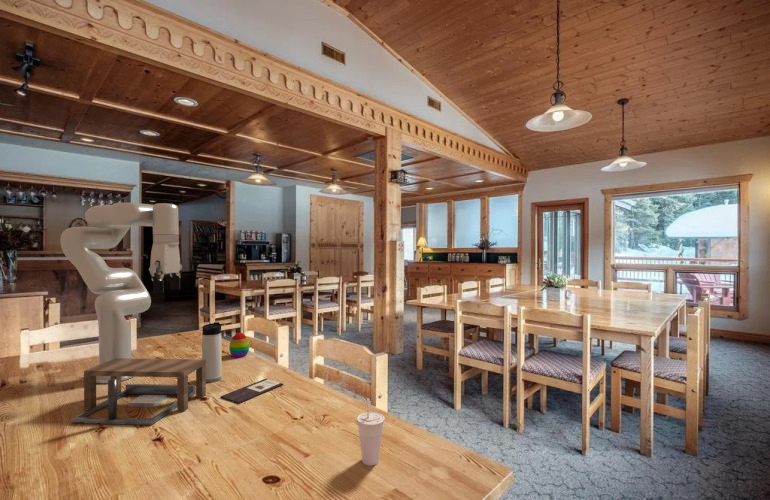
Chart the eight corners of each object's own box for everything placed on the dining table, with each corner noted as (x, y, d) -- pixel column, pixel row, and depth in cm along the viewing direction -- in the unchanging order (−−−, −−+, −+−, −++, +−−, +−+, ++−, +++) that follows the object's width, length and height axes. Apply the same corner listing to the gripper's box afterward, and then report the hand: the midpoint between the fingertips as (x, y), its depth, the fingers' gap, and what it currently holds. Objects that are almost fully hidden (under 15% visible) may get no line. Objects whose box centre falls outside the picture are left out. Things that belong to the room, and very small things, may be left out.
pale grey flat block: (128, 407, 112) (128, 402, 112) (141, 399, 118) (141, 394, 118) (153, 408, 111) (153, 403, 111) (166, 400, 117) (166, 395, 117)
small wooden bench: (84, 409, 109) (83, 370, 109) (115, 393, 121) (115, 358, 121) (184, 411, 108) (183, 372, 108) (205, 395, 120) (205, 359, 120)
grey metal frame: (69, 423, 100) (69, 380, 100) (127, 392, 122) (127, 356, 121) (150, 425, 99) (150, 381, 99) (194, 393, 121) (194, 357, 121)
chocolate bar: (220, 396, 118) (265, 378, 133) (220, 399, 118) (265, 381, 133) (239, 402, 113) (283, 383, 129) (239, 405, 113) (283, 386, 129)
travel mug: (225, 376, 137) (225, 322, 137) (215, 383, 131) (215, 326, 130) (209, 375, 138) (209, 321, 138) (198, 382, 131) (198, 325, 131)
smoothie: (356, 453, 87) (356, 393, 87) (383, 452, 87) (383, 392, 87) (356, 469, 80) (356, 405, 80) (386, 468, 81) (386, 404, 81)
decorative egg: (252, 355, 163) (252, 332, 163) (235, 359, 157) (234, 336, 157) (243, 351, 169) (243, 329, 169) (225, 355, 163) (225, 333, 163)
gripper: (169, 241, 134) (170, 288, 134) (138, 240, 117) (139, 294, 117) (190, 240, 134) (191, 288, 134) (162, 239, 117) (163, 294, 117)
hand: (167, 291), depth 126 cm, fingers open, 9 cm apart
